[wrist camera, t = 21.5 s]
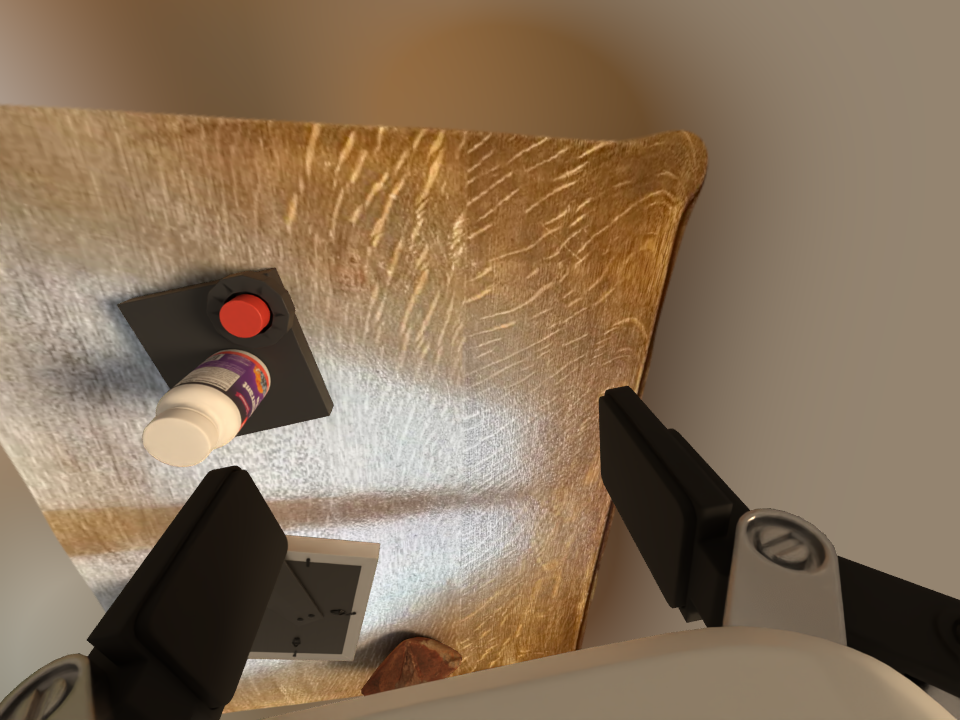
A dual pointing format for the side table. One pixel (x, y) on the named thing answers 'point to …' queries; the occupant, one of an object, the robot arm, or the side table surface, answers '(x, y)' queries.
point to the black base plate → (234, 343)
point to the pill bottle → (206, 408)
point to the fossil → (413, 665)
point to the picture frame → (317, 601)
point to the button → (244, 315)
